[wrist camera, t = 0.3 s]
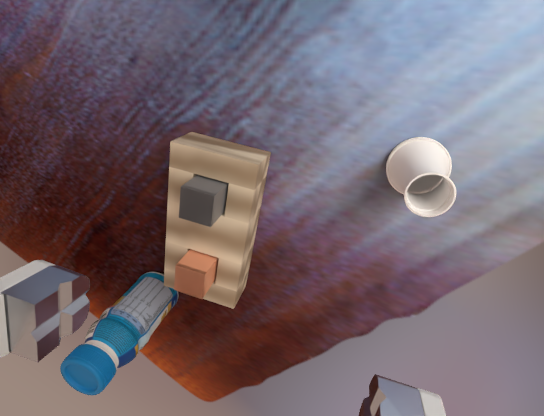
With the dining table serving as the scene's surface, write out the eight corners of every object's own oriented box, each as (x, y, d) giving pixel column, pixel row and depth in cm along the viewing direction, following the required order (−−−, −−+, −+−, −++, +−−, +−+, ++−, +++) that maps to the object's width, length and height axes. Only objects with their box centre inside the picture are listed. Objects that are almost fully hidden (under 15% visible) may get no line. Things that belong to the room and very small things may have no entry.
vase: (462, 149, 41) (487, 175, 32) (431, 202, 45) (446, 238, 36) (402, 128, 42) (411, 148, 33) (376, 181, 45) (378, 213, 37)
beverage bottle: (176, 271, 61) (98, 360, 43) (184, 309, 64) (114, 406, 47) (135, 267, 63) (45, 351, 45) (145, 304, 66) (64, 395, 49)
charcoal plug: (200, 172, 46) (180, 186, 41) (230, 180, 46) (214, 196, 41) (197, 201, 48) (178, 217, 43) (226, 209, 48) (210, 227, 43)
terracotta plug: (193, 245, 52) (175, 265, 47) (220, 253, 51) (205, 274, 46) (191, 268, 54) (173, 289, 49) (217, 276, 53) (202, 299, 48)
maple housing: (191, 131, 49) (170, 141, 44) (270, 152, 47) (258, 164, 42) (181, 264, 60) (163, 285, 55) (245, 285, 58) (233, 308, 53)
